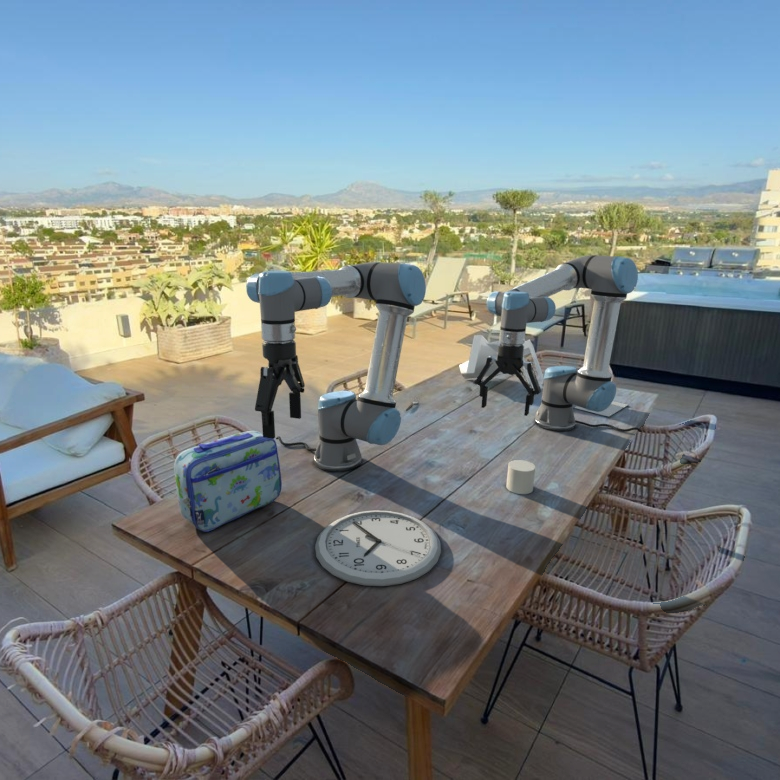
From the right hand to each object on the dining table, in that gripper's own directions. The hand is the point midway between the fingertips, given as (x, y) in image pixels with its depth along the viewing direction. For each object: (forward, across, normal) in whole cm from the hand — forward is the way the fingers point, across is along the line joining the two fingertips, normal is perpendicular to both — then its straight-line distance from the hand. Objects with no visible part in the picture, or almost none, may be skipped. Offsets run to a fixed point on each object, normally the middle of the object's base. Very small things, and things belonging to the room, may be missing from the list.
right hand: (504, 410), depth 164 cm
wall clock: (+20, -12, -58) cm, 63 cm away
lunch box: (+20, -53, -64) cm, 86 cm away
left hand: (-7, -38, -62) cm, 72 cm away
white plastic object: (+18, -26, +86) cm, 92 cm away
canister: (+19, +10, -12) cm, 24 cm away
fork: (+18, -49, +38) cm, 65 cm away
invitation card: (+17, +22, +79) cm, 84 cm away
